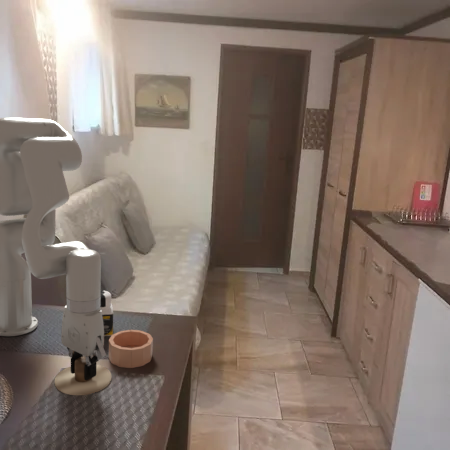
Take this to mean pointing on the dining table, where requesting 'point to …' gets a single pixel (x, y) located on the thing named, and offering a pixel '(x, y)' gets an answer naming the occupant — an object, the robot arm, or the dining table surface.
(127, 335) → the bowl
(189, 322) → the dining table surface
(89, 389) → the lid
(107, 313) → the medicine bottle
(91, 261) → the robot arm
